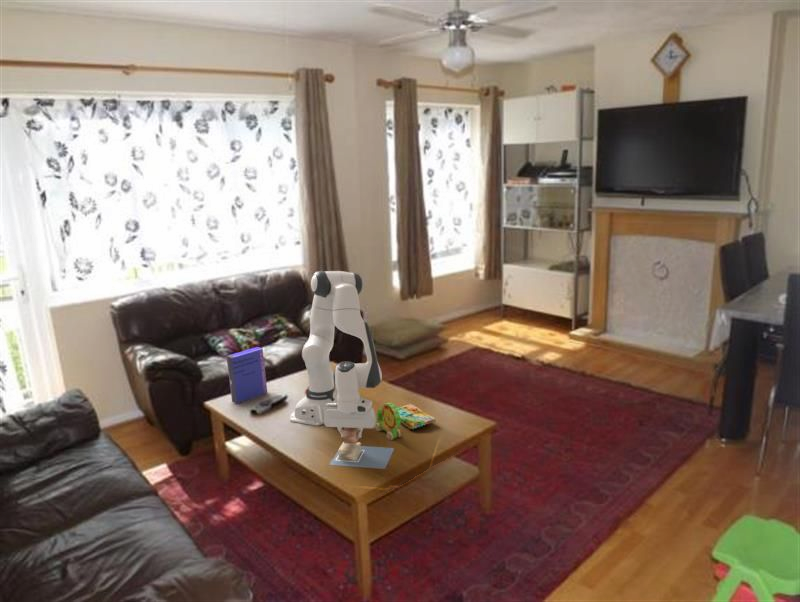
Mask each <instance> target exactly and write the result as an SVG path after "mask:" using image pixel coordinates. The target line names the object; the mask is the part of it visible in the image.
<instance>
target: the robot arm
mask: <svg viewBox="0 0 800 602" xmlns="http://www.w3.org/2000/svg"><path fill="white" fill-rule="evenodd" d="M310 290H311V293H313V294H314V296H313V299H312V302H311V303H312V305H311V311H310V316H309V317H310V318H309V324H310V327H309V328H310V329H309V337H308V339H307V341H306V342H305V344H303V347H302V351H301V357H302V360H303V361H304V363H305V367H306V371H307V376H308V377H307V379H308V386H307V388H306V389H305V391H304V395H305V396H304V397H303V398H301V399H300V400H299V401H297V403H296V405H295V408H294V411H293V412H292V413H291V414H290V416H289V421H290V422H292V423H296V424H297V423H299V424H304V425H305V424H306V425H311V426H317V427H318V426H321V425H324V426H325V427H326V428H337V431H338V432H339V434H340V437H341V438H343V430H344V429H343V428H345V427H346V428H359V432H358V433H357V438H359V439H361V438H362V436H363V434H362V432H363V431H364V429H375V425H376V423H377V414H376V412H375V409H374V407H373V401H372V400H370V399H368V398H364V397H362V396H360V393H359V388H366V389H375V388H377V387H378V386H379V385H380V383H382V380H383V379H382V378H383V375H382V369H381V367H380V364H379V362H378V357H377V356H378V355H377V353H376V347H375V344H374V339H373V335H372V331H371V327H370V324H369V323H368V322H366V321H364V319H363V318H362V316H361V315H362V314H361V306H360V305H361V304H360V299H359V295H360V293H361V292H362V290H363V279H362V277H361V275H360V274H359V273H357V272H351V271H350V272H349V271H342V270H328V271H325V270H319V271H315V272H314V273H313V274H312V276H311V279H310ZM335 327H336V328H337V329H338V330H339V331H341V332H343V333H345V334H348V335H351V336H354V337H356V338H358V339H360V340H361V341H362V343H363V347H364V352H365V356H366V362H362V363H361V362H359V363H354V362H352V361H349V360H348V361H341V362H338V364H337V365H336V366H335V369H333V368H332V366H331V362H330V352H331V351H332V350H333V347H334V340H335V330H336V329H335ZM333 370H334V371H333Z"/></svg>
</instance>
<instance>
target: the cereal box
mask: <svg viewBox="0 0 800 602" xmlns="http://www.w3.org/2000/svg"><path fill="white" fill-rule="evenodd" d="M226 363H227V371H228V372H227V373H228V378H229V379H228V380H229V388H230V396H231V402H232V403H234V404H241V403H244V402H246V401H248V400H252V399H255V398H257V397H260V396H263V395H265V394H268V389H267V388H268V387H267V385H268V384H267V376H266V368H265V367H266V366H265V357H264V350H263V348H262V347H259V346H255V347H253V348H249V349H246V350H242V351H240V352H236V353H234V354H233V353H232V354H229V355H226Z"/></svg>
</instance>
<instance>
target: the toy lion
mask: <svg viewBox="0 0 800 602" xmlns="http://www.w3.org/2000/svg"><path fill="white" fill-rule="evenodd" d="M396 408H397V407H396V405H395V404H393V402H387V403H384V404H383V406H382V407H381V408H379V409H378V410H377V412H376V425H375V427H374V429H375V431H378V432H381V431H385V432H386V438H387V440H389V441H393V440H394V439H396V438H397V437H398V438H401V436H402V432H401V430H400V429H399V428H400V425H401V423H400V415H399V412H398V410H397V409H396Z"/></svg>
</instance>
